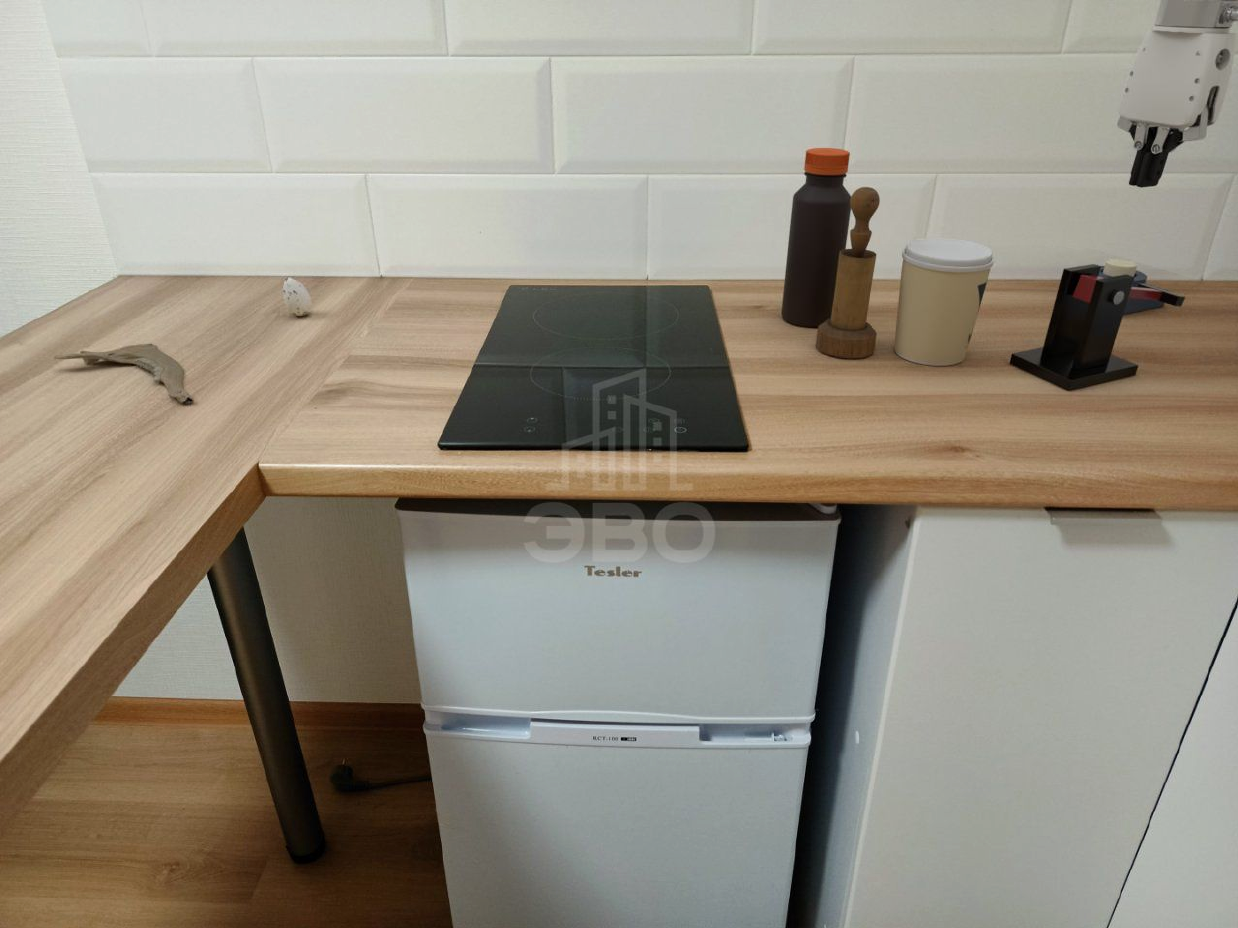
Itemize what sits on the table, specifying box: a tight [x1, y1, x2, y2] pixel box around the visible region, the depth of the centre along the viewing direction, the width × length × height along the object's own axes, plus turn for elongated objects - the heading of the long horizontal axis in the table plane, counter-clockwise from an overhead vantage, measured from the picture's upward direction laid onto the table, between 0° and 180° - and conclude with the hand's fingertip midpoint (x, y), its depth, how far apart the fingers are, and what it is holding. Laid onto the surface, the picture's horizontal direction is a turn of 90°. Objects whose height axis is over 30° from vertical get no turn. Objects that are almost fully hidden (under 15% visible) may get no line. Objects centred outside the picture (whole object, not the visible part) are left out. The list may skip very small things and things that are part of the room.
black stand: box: [1009, 263, 1139, 392], centre depth 91 cm, size 10×8×11 cm
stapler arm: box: [1072, 275, 1186, 307], centre depth 92 cm, size 13×5×2 cm, turn 114°
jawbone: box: [53, 343, 194, 404], centre depth 92 cm, size 9×20×2 cm, turn 64°
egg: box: [282, 276, 313, 317], centre depth 107 cm, size 3×3×5 cm
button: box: [1103, 258, 1138, 277], centre depth 111 cm, size 4×4×2 cm
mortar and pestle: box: [815, 186, 881, 359], centre depth 94 cm, size 7×6×18 cm
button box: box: [1099, 265, 1169, 316], centre depth 112 cm, size 10×8×4 cm
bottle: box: [781, 147, 852, 328], centre depth 103 cm, size 7×7×20 cm
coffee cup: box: [894, 237, 995, 367], centre depth 95 cm, size 9×9×12 cm
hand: (1142, 185), depth 105 cm, fingers closed
